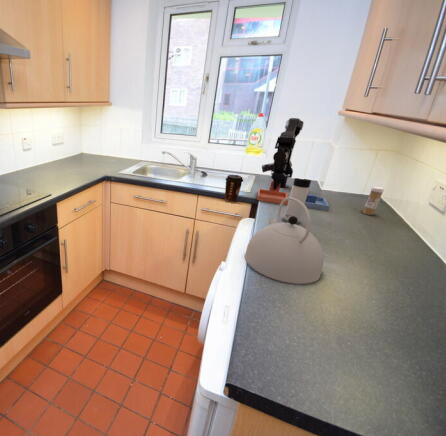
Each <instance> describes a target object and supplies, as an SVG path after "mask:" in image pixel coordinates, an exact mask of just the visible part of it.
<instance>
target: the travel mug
mask: <svg viewBox="0 0 446 436" xmlns="http://www.w3.org/2000/svg"><path fill="white" fill-rule="evenodd" d="M311 182H312V179H307V178H299V177H295V178H294V180H293V183H292V187H291V190H290V194H289V197H292V198H295V199H297V200H299V201H301V202H302V203H303V204H305V201H306V198H307V194H308V193H309V191H310V186H311ZM303 211H304V209H303V207H302V206H301V205H300V204H299V203H297V202H295V201H293V200H288V204H287V205H286V209H285V213H284V218H283V221H284V222H285V223H289V222H288V219H289V218H290V217H291V216H295V217H296V218H297V219H298V222H297V223H296V224H295V225H297V224H299V223H300V221H301V218H302V214H303Z"/></svg>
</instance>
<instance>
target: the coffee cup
mask: <svg viewBox="0 0 446 436" xmlns="http://www.w3.org/2000/svg"><path fill="white" fill-rule="evenodd" d="M243 182H244V179H243V177H242V175H238V174H228V175H227V177H225V190H224V201H226V202H231V203H234V202H237V201H238V198H239V197H238V196H239V195H240V192H241V188H242V183H243Z"/></svg>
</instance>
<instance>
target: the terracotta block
mask: <svg viewBox="0 0 446 436" xmlns="http://www.w3.org/2000/svg"><path fill="white" fill-rule="evenodd" d="M269 185H270V186H269V190H270V191H276V192H280V189H281V187H280V185H281V183H280V185H279V186H278V187H277V188H276V190H274V189H273V180H271V181H270V184H269Z"/></svg>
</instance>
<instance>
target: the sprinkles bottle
mask: <svg viewBox="0 0 446 436" xmlns="http://www.w3.org/2000/svg"><path fill="white" fill-rule="evenodd" d="M384 191H385V188H384V187H382V186H378V185H377V186H371V189H370V193H369V195H368V197H367V200H366V202H365V205H364V208H363V211H362V213H363V214H364V215H367V216H374V215H375V212H376V210H377V207H378V206H379V203H380V200H381V197H382V195H383V193H384Z"/></svg>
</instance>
